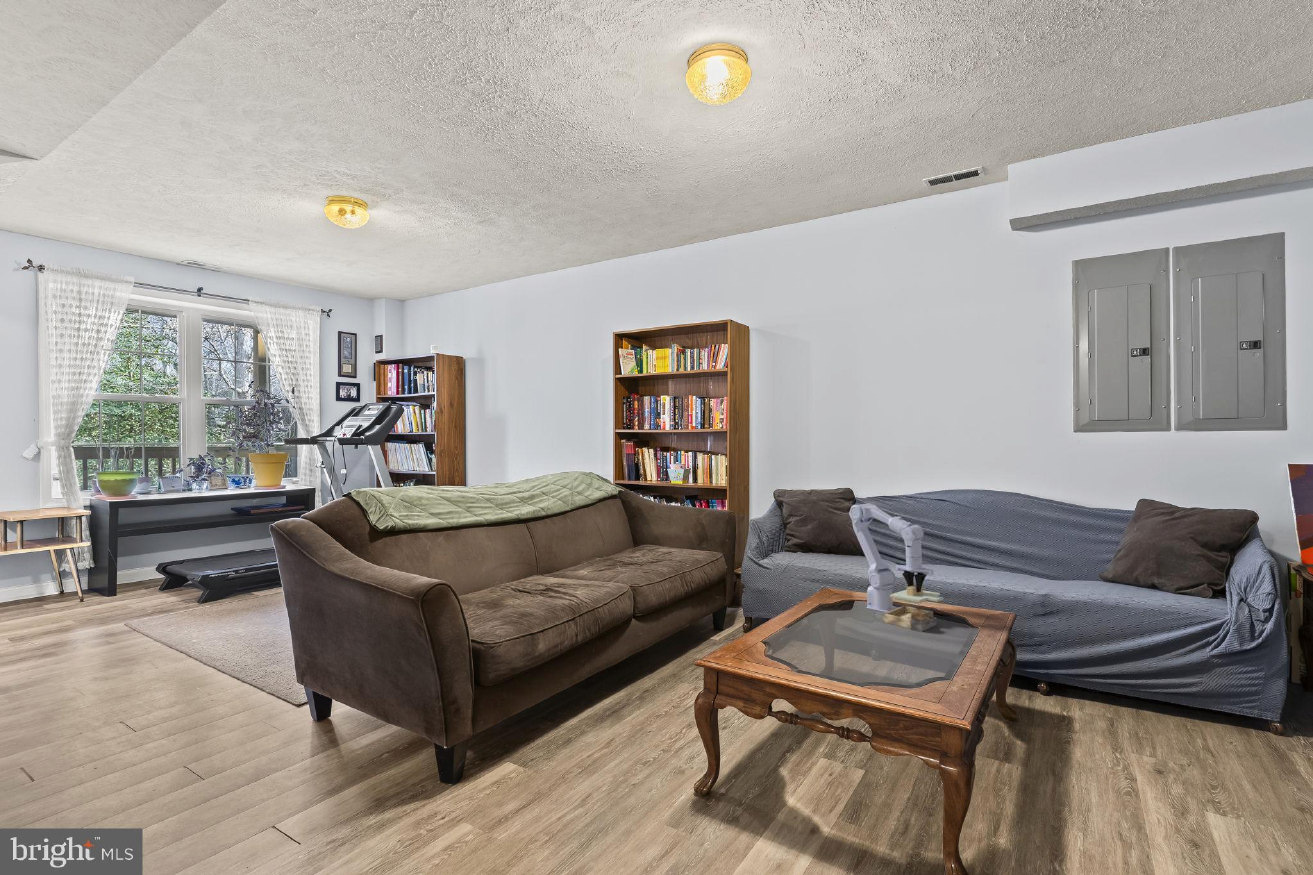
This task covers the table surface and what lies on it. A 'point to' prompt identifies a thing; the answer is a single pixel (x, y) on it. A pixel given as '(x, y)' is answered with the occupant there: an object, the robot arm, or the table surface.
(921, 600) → the lid
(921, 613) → the bolt
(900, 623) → the wooden tray
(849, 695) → the table surface
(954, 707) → the table surface
